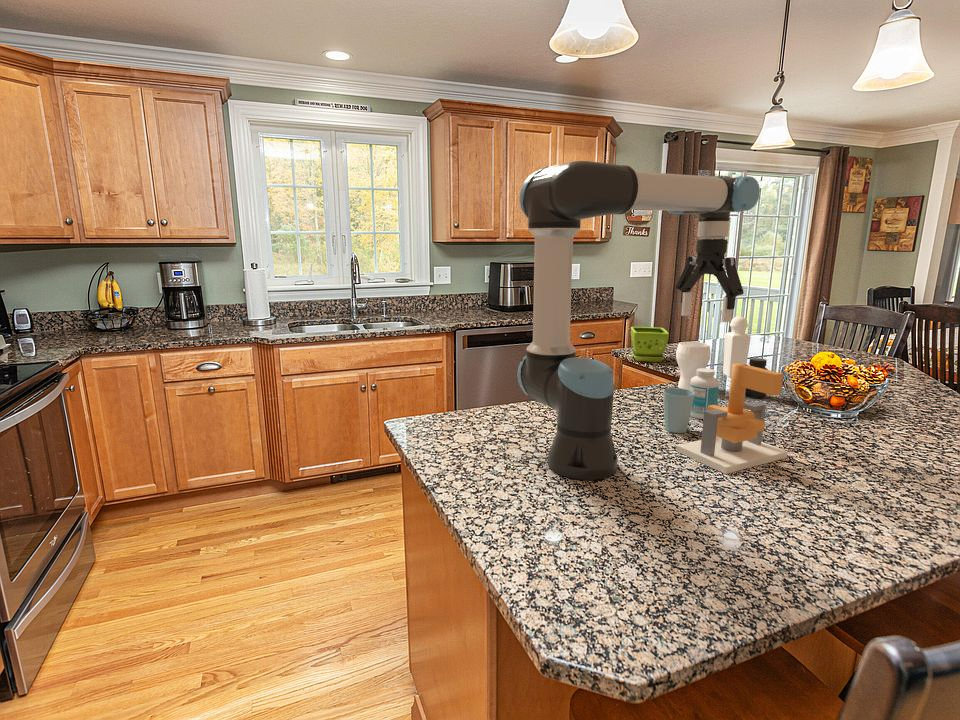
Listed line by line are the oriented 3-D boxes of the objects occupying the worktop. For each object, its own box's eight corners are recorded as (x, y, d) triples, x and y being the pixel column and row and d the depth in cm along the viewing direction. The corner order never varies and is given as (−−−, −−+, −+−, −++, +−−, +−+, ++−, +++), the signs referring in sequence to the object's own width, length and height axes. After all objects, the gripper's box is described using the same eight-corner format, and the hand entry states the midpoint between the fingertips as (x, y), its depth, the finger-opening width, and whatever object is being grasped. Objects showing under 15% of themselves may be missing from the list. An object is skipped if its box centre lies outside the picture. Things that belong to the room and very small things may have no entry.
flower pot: (631, 362, 217) (633, 331, 214) (628, 355, 231) (630, 326, 228) (667, 363, 215) (669, 332, 212) (661, 356, 228) (664, 327, 225)
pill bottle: (711, 412, 154) (715, 367, 151) (719, 420, 147) (724, 373, 144) (684, 411, 155) (688, 366, 152) (691, 419, 148) (696, 372, 145)
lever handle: (757, 453, 113) (766, 376, 109) (696, 429, 128) (703, 360, 124) (782, 446, 117) (792, 372, 113) (720, 424, 131) (727, 357, 127)
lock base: (725, 474, 114) (730, 423, 111) (676, 451, 126) (679, 405, 124) (787, 457, 122) (793, 410, 120) (735, 437, 135) (739, 394, 132)
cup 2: (678, 382, 187) (682, 340, 184) (710, 386, 181) (714, 343, 178) (669, 388, 179) (672, 345, 175) (702, 394, 173) (706, 348, 169)
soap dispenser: (746, 377, 192) (753, 317, 188) (728, 377, 193) (734, 317, 188) (738, 373, 199) (744, 315, 194) (720, 373, 199) (726, 315, 194)
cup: (687, 425, 144) (690, 388, 141) (694, 435, 136) (698, 396, 134) (658, 424, 145) (660, 387, 142) (663, 434, 137) (666, 395, 135)
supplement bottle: (767, 394, 171) (771, 358, 169) (765, 400, 166) (769, 362, 163) (743, 391, 175) (747, 356, 172) (741, 396, 169) (745, 360, 167)
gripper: (764, 238, 130) (755, 323, 135) (686, 238, 152) (680, 312, 157) (743, 238, 127) (734, 325, 132) (666, 238, 149) (661, 313, 154)
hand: (705, 318), depth 145 cm, fingers open, 13 cm apart
